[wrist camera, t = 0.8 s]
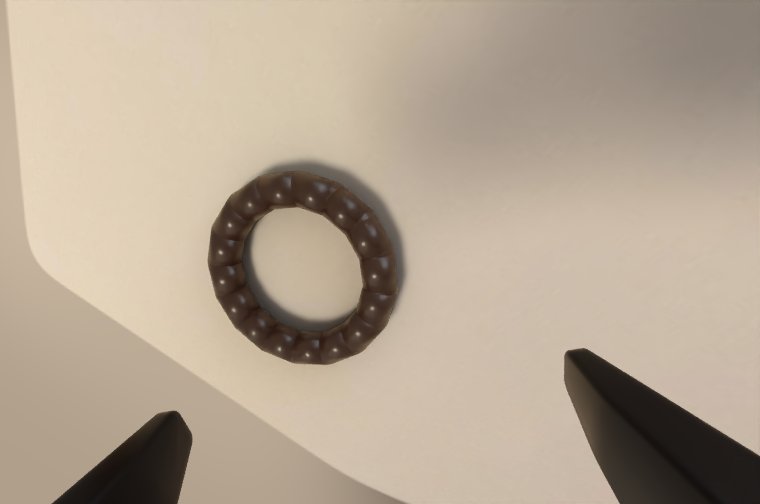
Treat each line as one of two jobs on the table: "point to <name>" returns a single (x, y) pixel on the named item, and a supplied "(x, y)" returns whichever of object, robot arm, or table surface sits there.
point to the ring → (346, 217)
